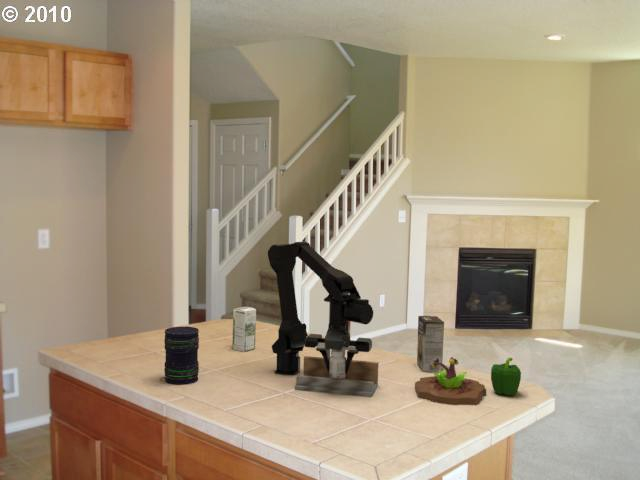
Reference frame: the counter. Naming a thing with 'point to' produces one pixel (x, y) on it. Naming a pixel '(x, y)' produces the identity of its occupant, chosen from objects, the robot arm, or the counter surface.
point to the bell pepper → (505, 378)
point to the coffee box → (430, 343)
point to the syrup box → (244, 329)
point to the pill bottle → (337, 364)
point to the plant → (450, 387)
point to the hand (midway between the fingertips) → (337, 372)
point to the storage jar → (181, 355)
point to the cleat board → (356, 383)
